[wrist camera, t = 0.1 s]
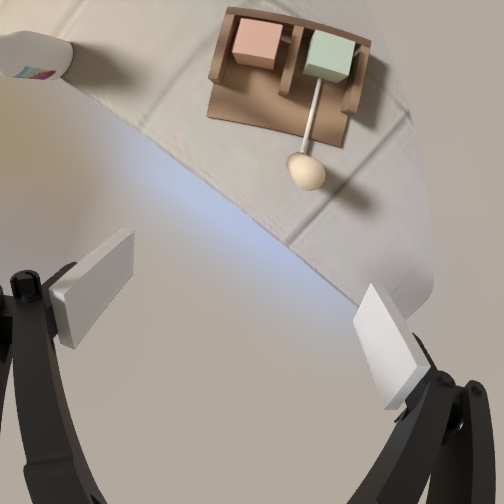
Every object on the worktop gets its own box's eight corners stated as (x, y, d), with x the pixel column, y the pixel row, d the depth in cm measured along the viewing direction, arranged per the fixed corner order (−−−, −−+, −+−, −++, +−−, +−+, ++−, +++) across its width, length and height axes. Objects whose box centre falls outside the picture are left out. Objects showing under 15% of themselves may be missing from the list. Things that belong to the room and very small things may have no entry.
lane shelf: (231, 18, 30) (227, 6, 26) (361, 49, 31) (371, 40, 27) (207, 116, 37) (199, 114, 33) (339, 146, 38) (347, 148, 33)
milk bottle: (58, 36, 30) (-20, 19, 12) (81, 47, 31) (-2, 27, 13) (38, 73, 33) (-43, 70, 14) (59, 86, 34) (-27, 84, 16)
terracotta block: (245, 33, 31) (241, 18, 25) (280, 39, 31) (282, 25, 26) (237, 63, 33) (232, 52, 27) (273, 69, 33) (274, 59, 28)
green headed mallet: (308, 44, 32) (322, 17, 22) (342, 54, 32) (366, 31, 22) (278, 171, 39) (282, 184, 29) (312, 179, 40) (327, 196, 30)
